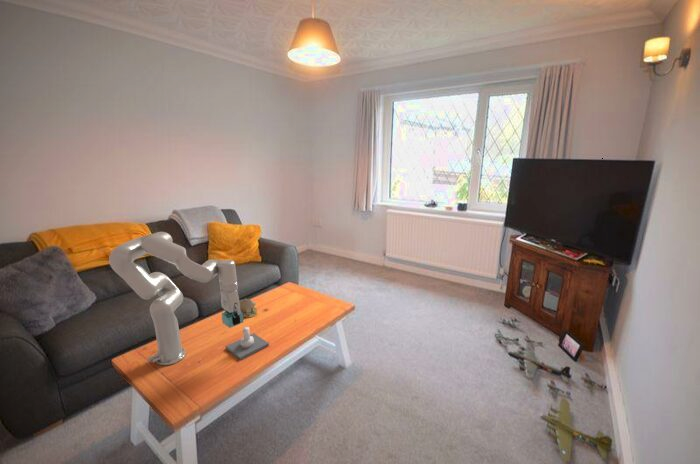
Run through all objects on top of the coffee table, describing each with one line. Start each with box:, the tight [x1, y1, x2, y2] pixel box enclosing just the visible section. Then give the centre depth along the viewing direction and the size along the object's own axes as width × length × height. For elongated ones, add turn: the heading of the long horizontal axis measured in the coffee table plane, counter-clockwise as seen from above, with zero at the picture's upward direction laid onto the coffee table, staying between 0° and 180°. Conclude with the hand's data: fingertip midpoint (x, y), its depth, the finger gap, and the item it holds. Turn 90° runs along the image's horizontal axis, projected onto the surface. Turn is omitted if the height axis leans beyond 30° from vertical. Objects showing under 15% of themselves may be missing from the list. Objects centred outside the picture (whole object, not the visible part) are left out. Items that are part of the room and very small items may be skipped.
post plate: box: [225, 326, 270, 361], centre depth 159 cm, size 16×14×10 cm
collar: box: [221, 309, 244, 329], centre depth 150 cm, size 7×7×5 cm
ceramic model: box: [239, 297, 258, 318], centre depth 194 cm, size 14×11×10 cm
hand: (233, 321), depth 150 cm, fingers closed on collar, 7 cm apart
